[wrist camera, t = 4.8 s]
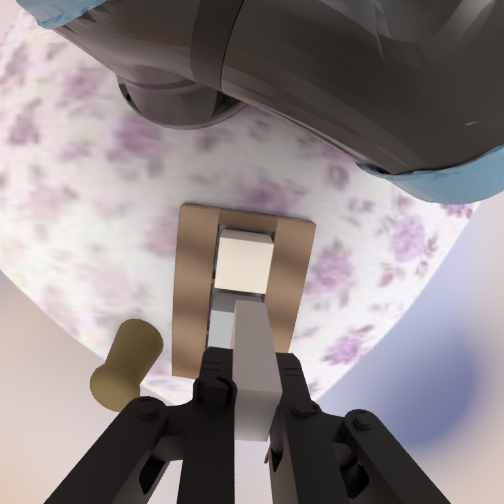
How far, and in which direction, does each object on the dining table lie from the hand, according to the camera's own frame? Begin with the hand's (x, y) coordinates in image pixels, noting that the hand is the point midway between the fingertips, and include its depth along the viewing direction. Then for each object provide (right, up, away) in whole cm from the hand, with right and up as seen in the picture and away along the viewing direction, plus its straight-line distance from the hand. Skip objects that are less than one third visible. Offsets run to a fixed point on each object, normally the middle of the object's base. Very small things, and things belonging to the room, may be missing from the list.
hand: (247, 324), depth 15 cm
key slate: (-1, -3, +14) cm, 14 cm away
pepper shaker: (-13, -7, +18) cm, 23 cm away
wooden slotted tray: (-2, -2, +17) cm, 17 cm away
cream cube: (-1, +4, +14) cm, 14 cm away
